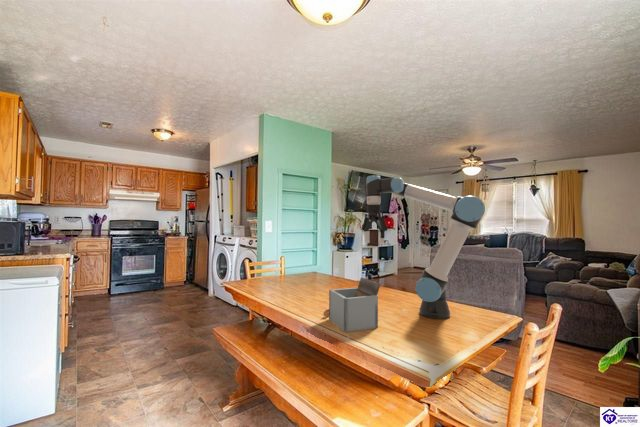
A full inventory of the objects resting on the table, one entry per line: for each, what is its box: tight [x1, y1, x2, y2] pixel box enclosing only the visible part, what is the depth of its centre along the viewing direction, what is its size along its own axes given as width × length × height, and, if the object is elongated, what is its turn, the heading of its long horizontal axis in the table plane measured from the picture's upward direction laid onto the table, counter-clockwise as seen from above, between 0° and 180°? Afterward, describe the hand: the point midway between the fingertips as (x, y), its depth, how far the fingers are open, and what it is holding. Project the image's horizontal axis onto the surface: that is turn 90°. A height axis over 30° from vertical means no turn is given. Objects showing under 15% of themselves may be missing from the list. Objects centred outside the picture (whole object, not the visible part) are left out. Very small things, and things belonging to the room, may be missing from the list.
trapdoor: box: [355, 277, 381, 297], centre depth 145 cm, size 18×14×4 cm
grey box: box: [328, 287, 379, 333], centre depth 143 cm, size 16×18×14 cm
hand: (374, 243), depth 161 cm, fingers open, 13 cm apart
